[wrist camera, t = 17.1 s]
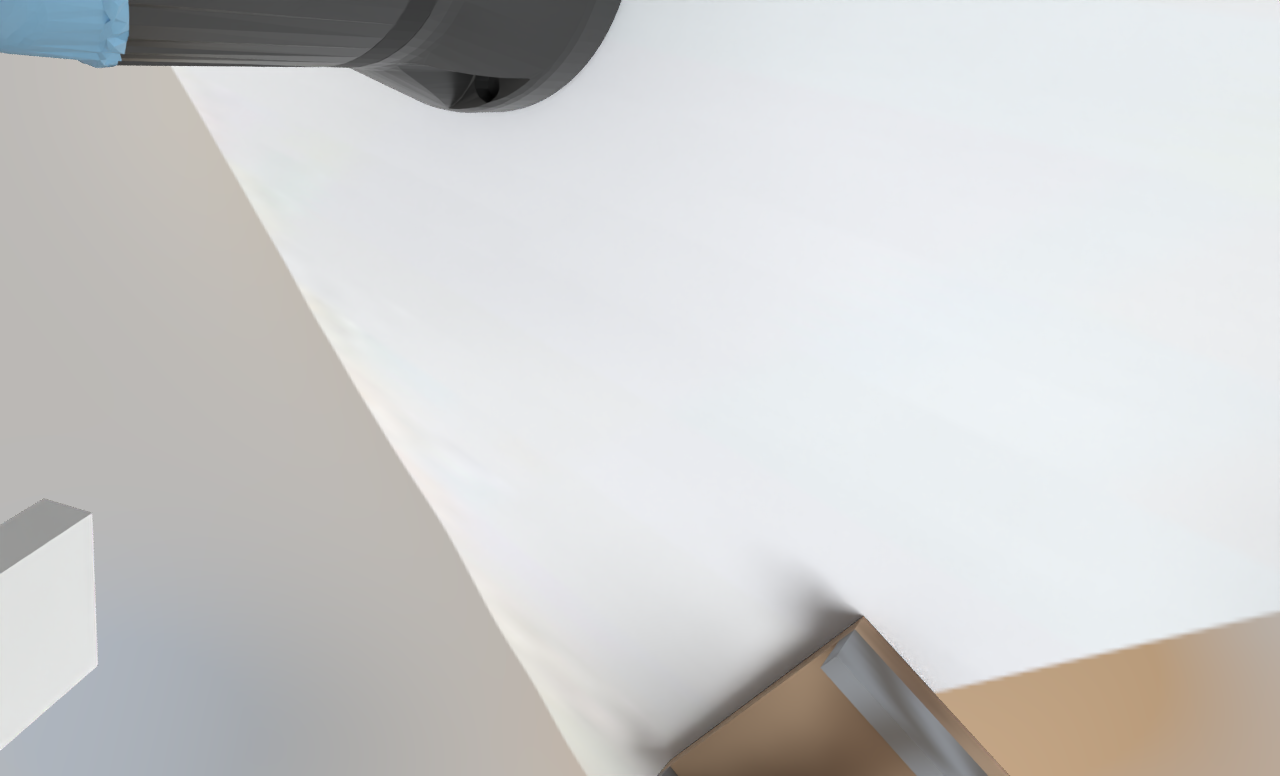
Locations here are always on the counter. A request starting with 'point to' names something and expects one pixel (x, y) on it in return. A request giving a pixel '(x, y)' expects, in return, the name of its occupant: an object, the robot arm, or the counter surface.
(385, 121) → the counter surface
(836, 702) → the sliding track
